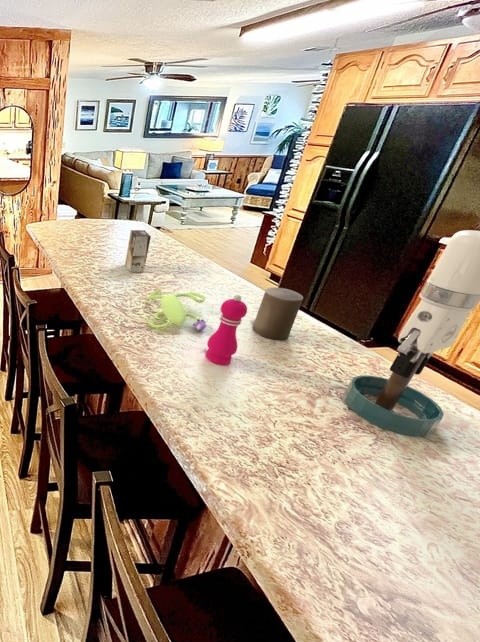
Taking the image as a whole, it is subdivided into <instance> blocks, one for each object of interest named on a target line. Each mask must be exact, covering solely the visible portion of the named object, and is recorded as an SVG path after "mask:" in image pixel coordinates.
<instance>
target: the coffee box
mask: <svg viewBox="0 0 480 642" xmlns="http://www.w3.org/2000/svg"><path fill="white" fill-rule="evenodd" d="M151 238H152V237H151V235H150V234H149V233H148V232H147V231H146V230H145V229H144V230H142V229H137V230H136V229H135V230H134V229H130V232H129V238H128V245H127V251H126V255H125V256H126V257H125V263H124V265H125V267H126V268H127V270H128V271H129V272H130V273H132V272H133V273H144V272H145V270H146V269H145V268H146V263H147V258H148V253H149V249H150V242H151Z"/></svg>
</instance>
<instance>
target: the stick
mask: <svg viewBox="0 0 480 642" xmlns="http://www.w3.org/2000/svg"><path fill="white" fill-rule="evenodd" d="M410 350H411V351H413V353H414V354H415V352H416V351H415V350H413V349H410ZM426 354H427V353H421V355H420V356H419V358H418V359H417V361H416V362H417V363H418V364H417V365H416V367H415V369H414V370H413V372H412V374H411V375H410V377H409V378H404V377H402V376H400V375H398V374H396V373H394V372H392V371H391V372H392V373H390V376H389V377H388V378H387V379H388V381H387V383H386V384H385V386H384V388H383V390H382V391H381V393H380V395H379V396H377V398H376V400H375V402H374V401H372V402H373V403H375V404H377V405H379V406H380V407H383V408H385V409H387V410H390V411H392V412H394V413H396V412H395V411H394V408H395V407H396V406H397V402H398V400H399V399H400V397H401V395H402V394H403V392H404V390H405V389H406V387H407V386H409V384H410V382H411V381H412V379H413V377H414V376H415V375H416V374H415V372H416V371H417V369H418V367H419V366H420V364H421V362H422V361H423V359H424V358H425V356H426Z"/></svg>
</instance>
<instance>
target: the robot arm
mask: <svg viewBox="0 0 480 642" xmlns="http://www.w3.org/2000/svg"><path fill="white" fill-rule="evenodd" d="M418 296H419V298H420V299H421V301H420V302H419V303H418V305H417V306H416V307H415V309H414V311H413V312H412V313H411V315H410V317H409V318H408V319H407V321H406V322H405V324H404V326H403V328H402V329H401V331H400V333H399V336H398V337H397V341H398V343H399V344H400V345H399V346H398V347H397V349H396V351H397V354H396V356H395V358H394V360H393V362H392V364H391V366H390V367H389V371H390V372H394V373H396V374H398V375H400V376H402V377H404V378H409V377H410V375H411V374H412V372H413V370H414V369H415V367H416V365H417V364H418V363H417V362H416V361H417V359H418V358H419V356H420V355H421V353H427V354H426V356H425V358H424V359H423V361H422V362H421V364H420V366H419V367H418V369H417V371H416V372H415V374H414V375H421V373H422V372H423V370H424V368H425V367H426V365H427V363H428V362H429V360H430V358H431V357H432V356H433V354H434V353H435V352H438V351H441V350H444V349H447V348H450V347H451V346H453V344H454V343H455V342H456V340H457V338H458V337H459V334H460V333H461V330H462V329H463V327H464V325H465V323H466V321H467V319H468V318H469V315H470V313H471V312H472V311H474V310H475V309H476V307H477V306H478V305H479V303H480V230H474V229H473V230H472V229H466V230H465V229H464V230H460V231H457V232H455V233H454V234H453V235H452V236H451V238H450V240H448V243H447V244H446V246H445V248H444V250H443V252H442V253H441V255H440V258H439V259H438V261H437V262H436V265H435V266H434V268H433V269H432V271H431V273H430V275H429V277H428V279H427V280H426V282H425V284H424V286H423V288H422V290H421V292H420V294H419V295H418ZM410 349H413V350H415V351H416V352H415V354H414V353H413V351H411V350H410Z"/></svg>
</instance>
